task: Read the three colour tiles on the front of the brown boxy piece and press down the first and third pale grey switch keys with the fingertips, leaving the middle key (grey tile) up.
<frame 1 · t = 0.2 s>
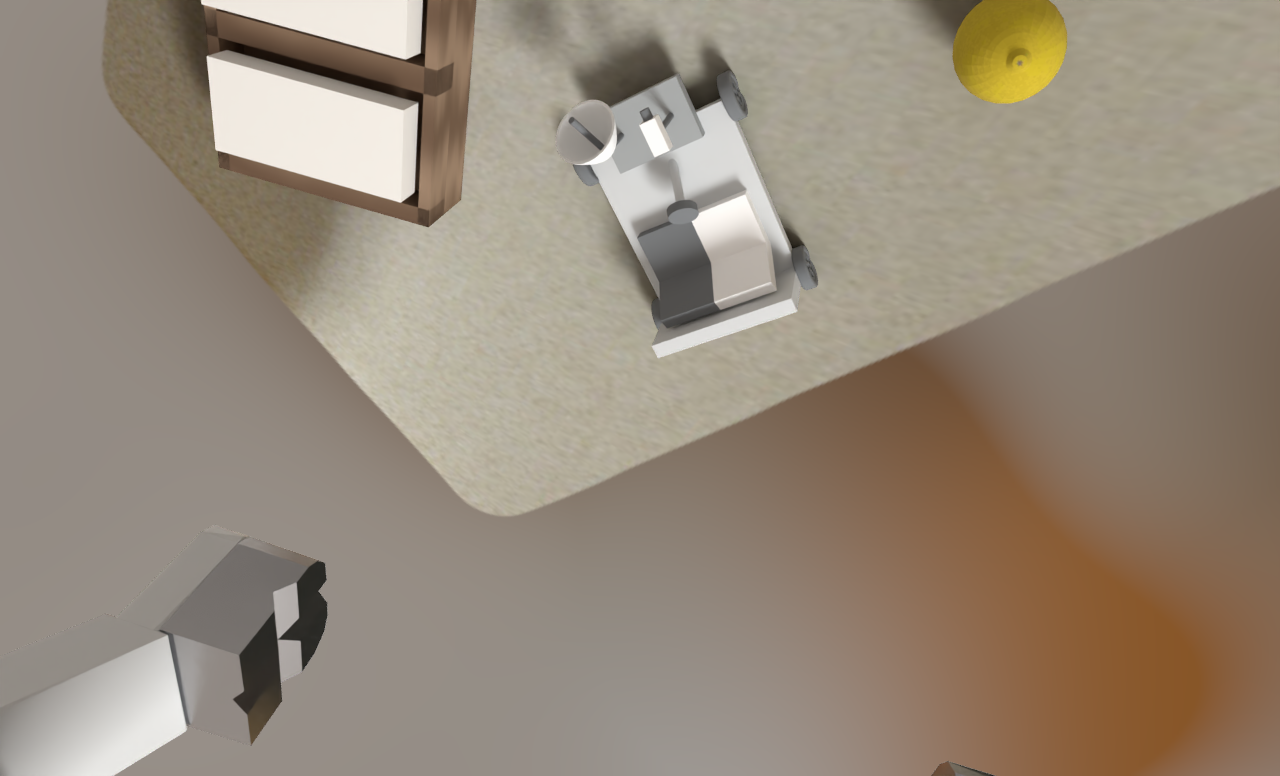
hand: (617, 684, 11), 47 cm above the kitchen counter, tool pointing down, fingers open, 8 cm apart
toy car: (692, 190, 57), on the kitchen counter
switch 3: (314, 126, 53), point 6 cm above the kitchen counter, slide at 0.0 cm
lemon: (997, 34, 48), on the kitchen counter
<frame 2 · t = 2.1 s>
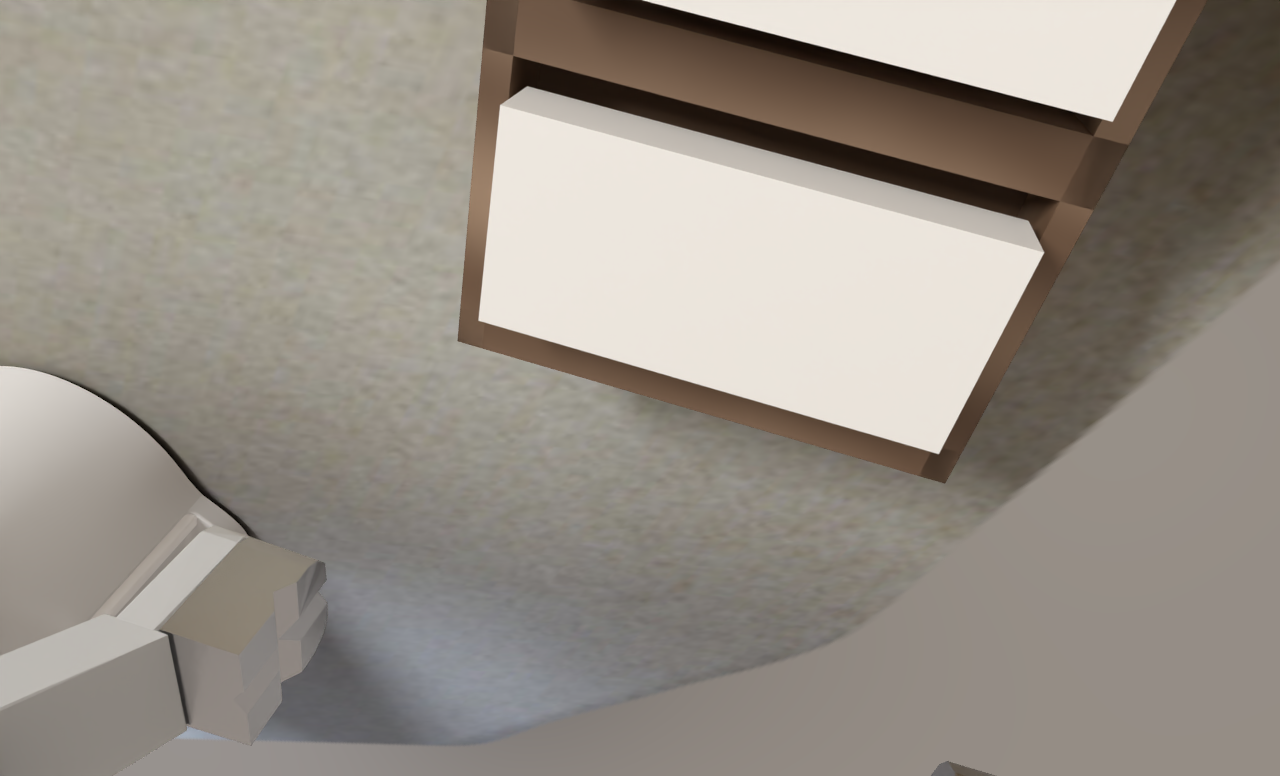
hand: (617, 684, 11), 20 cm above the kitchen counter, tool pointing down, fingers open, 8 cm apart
switch 1: (737, 273, 22), point 6 cm above the kitchen counter, slide at 0.0 cm
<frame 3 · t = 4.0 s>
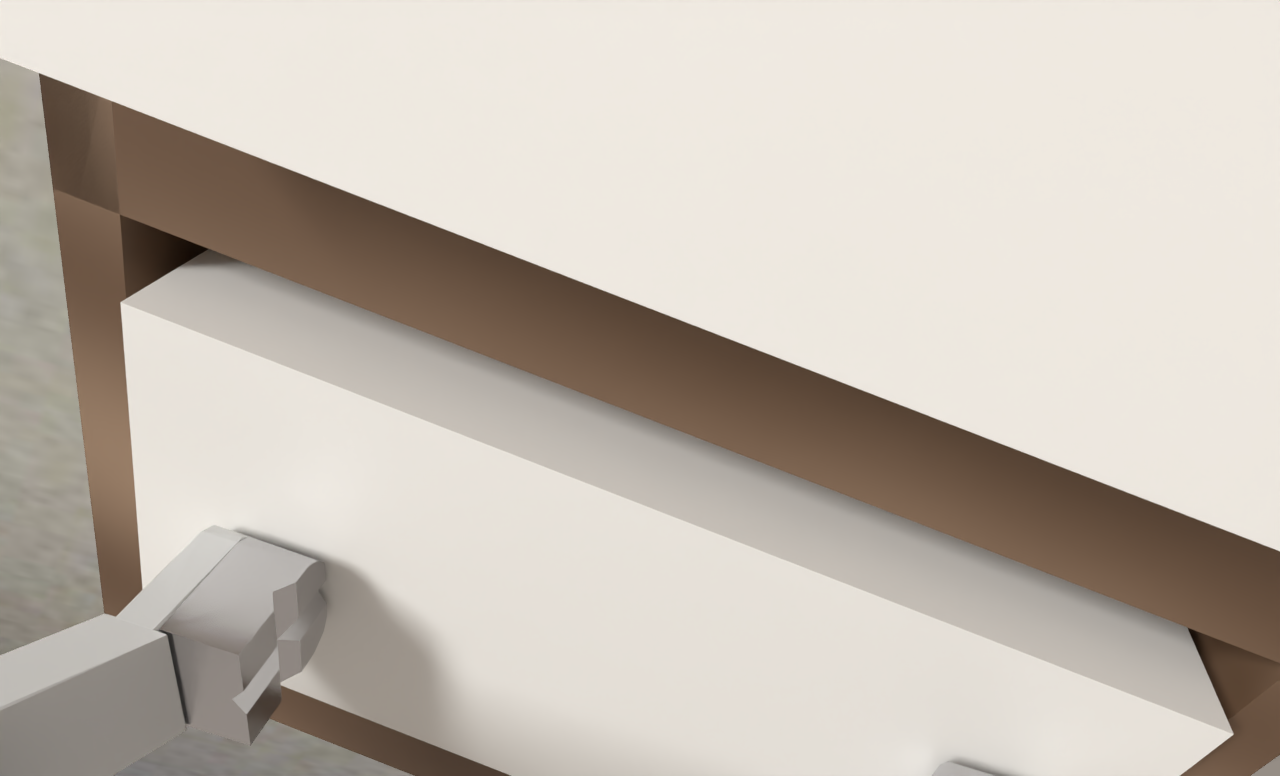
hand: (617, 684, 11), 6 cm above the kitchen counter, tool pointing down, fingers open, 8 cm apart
switch 1: (618, 616, 12), point 5 cm above the kitchen counter, slide at 1.2 cm, touching gripper
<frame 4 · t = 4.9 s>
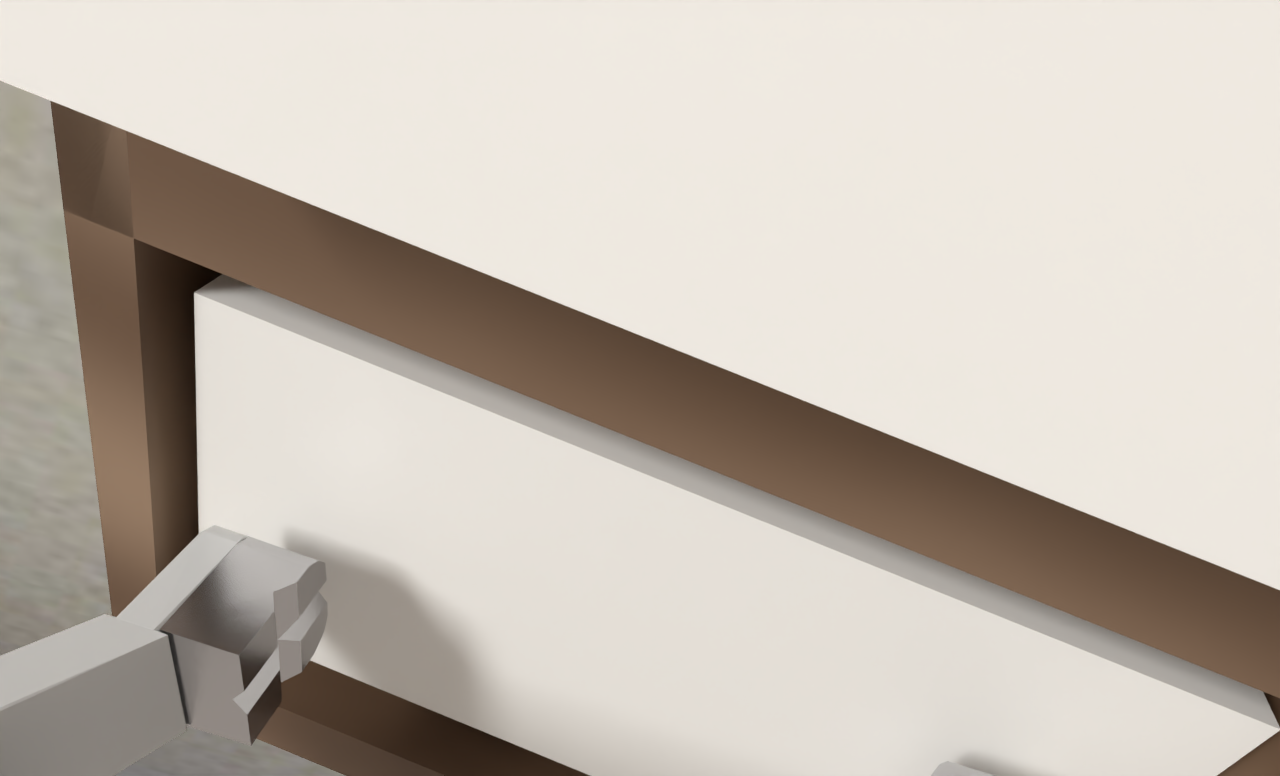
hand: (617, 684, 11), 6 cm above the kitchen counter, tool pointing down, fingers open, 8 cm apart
switch 1: (664, 606, 12), point 4 cm above the kitchen counter, slide at 2.2 cm
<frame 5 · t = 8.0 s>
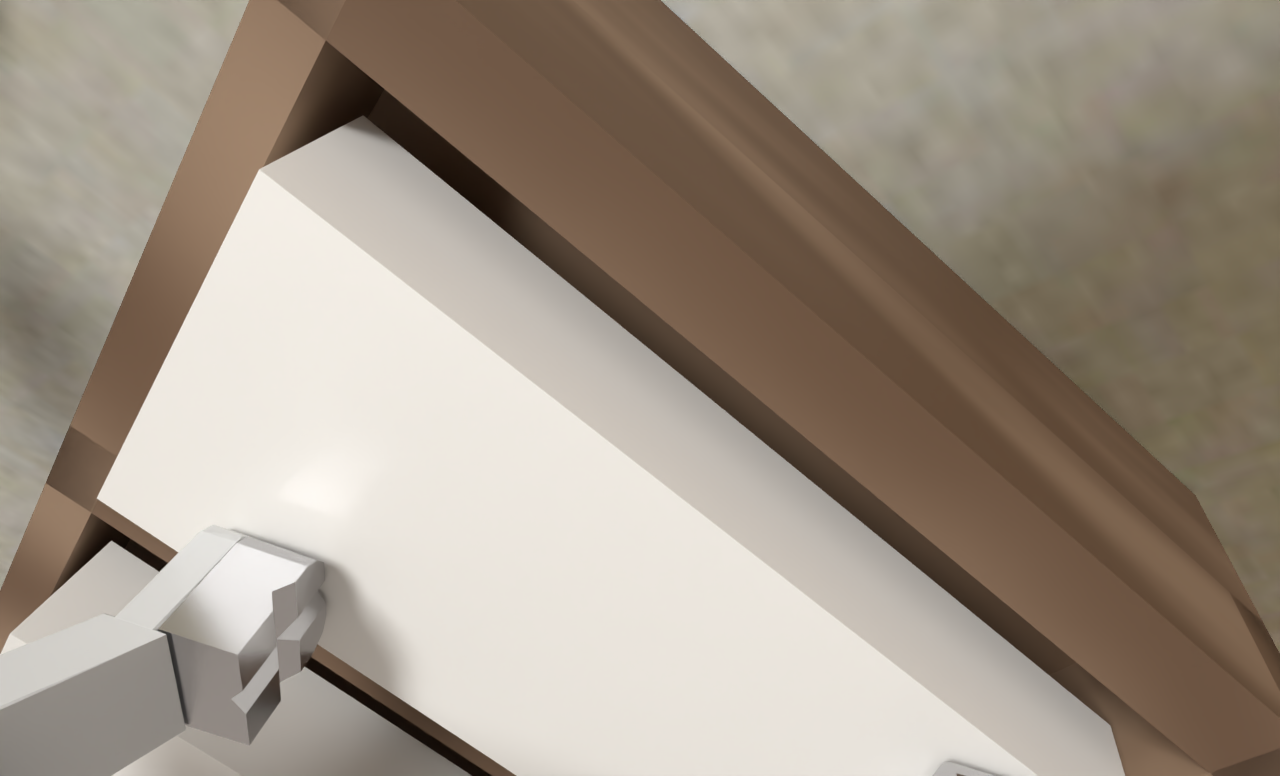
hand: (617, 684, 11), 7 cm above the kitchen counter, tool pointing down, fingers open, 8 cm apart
brown boxy piece: (463, 605, 21), on the kitchen counter
switch 3: (624, 616, 11), point 6 cm above the kitchen counter, slide at 0.7 cm, touching gripper
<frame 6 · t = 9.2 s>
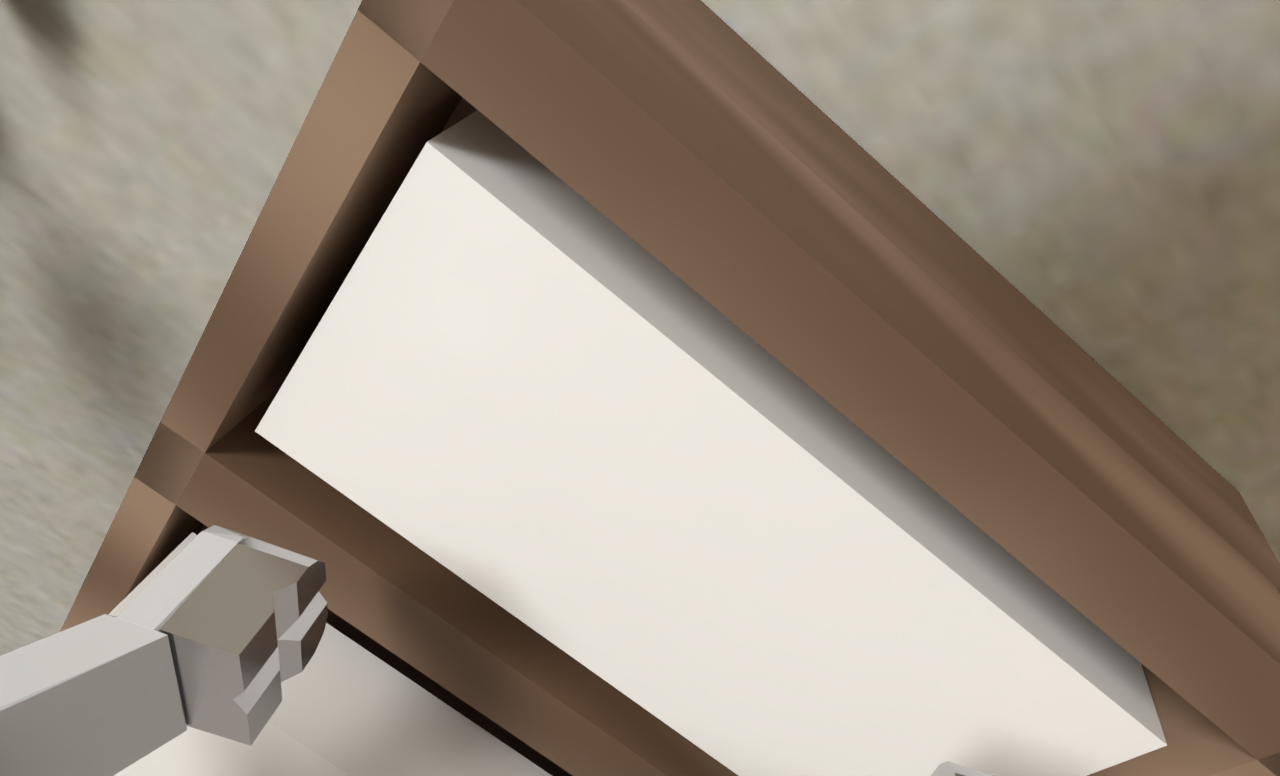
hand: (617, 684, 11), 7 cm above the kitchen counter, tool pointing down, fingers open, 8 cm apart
brown boxy piece: (512, 599, 22), on the kitchen counter
switch 3: (702, 536, 13), point 4 cm above the kitchen counter, slide at 2.1 cm
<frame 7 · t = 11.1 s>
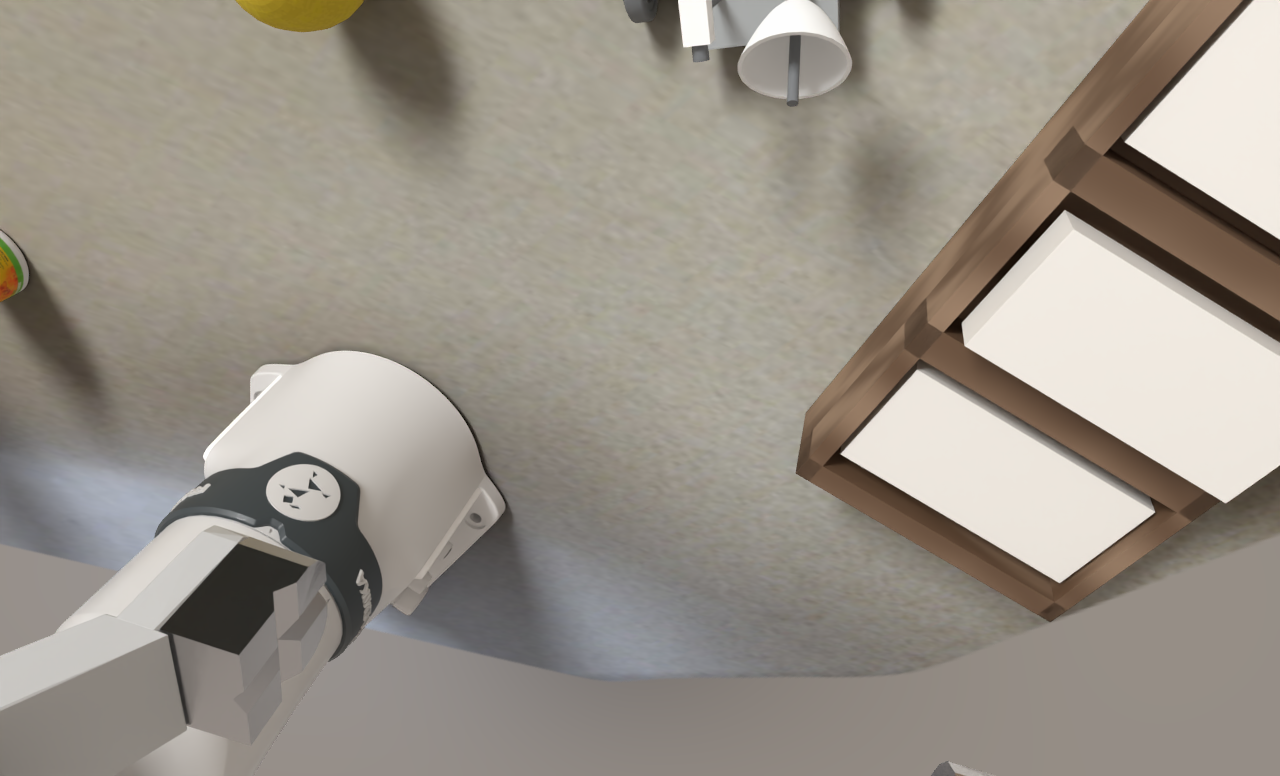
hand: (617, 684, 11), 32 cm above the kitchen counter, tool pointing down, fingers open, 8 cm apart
brown boxy piece: (1115, 293, 38), on the kitchen counter
switch 2: (1148, 362, 33), point 6 cm above the kitchen counter, slide at 0.0 cm
switch 1: (990, 469, 40), point 4 cm above the kitchen counter, slide at 2.2 cm
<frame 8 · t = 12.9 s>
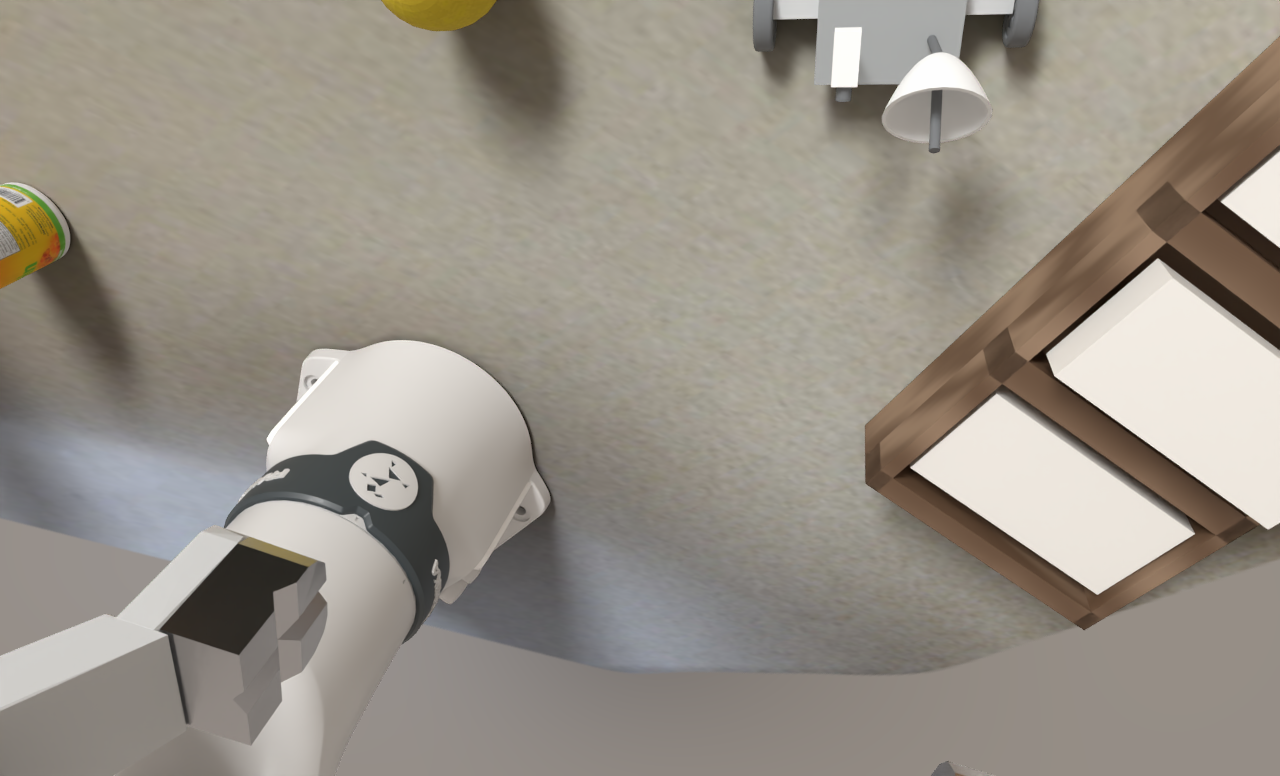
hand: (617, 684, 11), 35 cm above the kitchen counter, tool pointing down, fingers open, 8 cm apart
brown boxy piece: (1171, 333, 42), on the kitchen counter
switch 2: (1215, 400, 37), point 6 cm above the kitchen counter, slide at 0.0 cm
switch 1: (1046, 488, 43), point 4 cm above the kitchen counter, slide at 2.2 cm
supplement bottle: (38, 219, 55), on the kitchen counter
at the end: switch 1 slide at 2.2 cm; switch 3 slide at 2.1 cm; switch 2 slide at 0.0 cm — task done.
